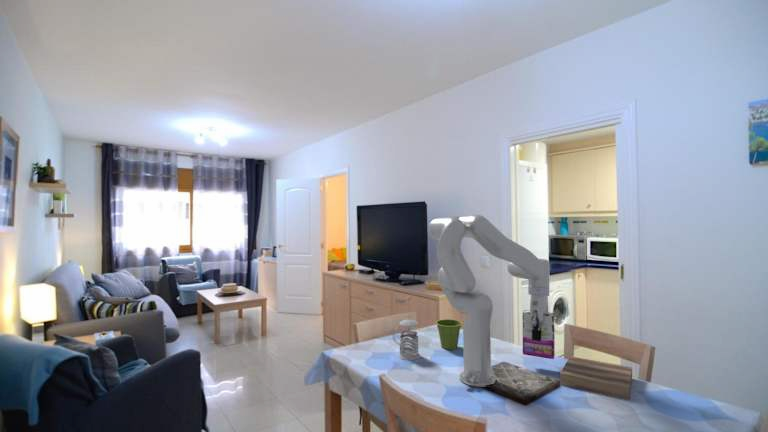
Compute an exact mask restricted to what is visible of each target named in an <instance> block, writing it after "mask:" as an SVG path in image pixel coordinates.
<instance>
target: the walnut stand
mask: <svg viewBox="0 0 768 432" xmlns="http://www.w3.org/2000/svg"><path fill="white" fill-rule="evenodd" d="M559 381H560V382H559V384H560V383H561V385H560V386H564V387H568V388H572V389H578V390H583V391H587V392H590V393H595V394H600V395H605V396H609V397H614V398H617V399H618V398H619V399H623V400H626V401H627V400H628V401H630V400H631V392H632V385H633V384H632V383H633V367H632V366H629V365H628V366H627V365H621V364H616V363H610V362H604V361H600V360H594V359H589V358H588V359H587V358H581V357H576V356H571V355H570V356H569V357H568V359H567V360H566V362H565V364H564V366H563V367H562V369H561V370H560V372H559Z"/></svg>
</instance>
